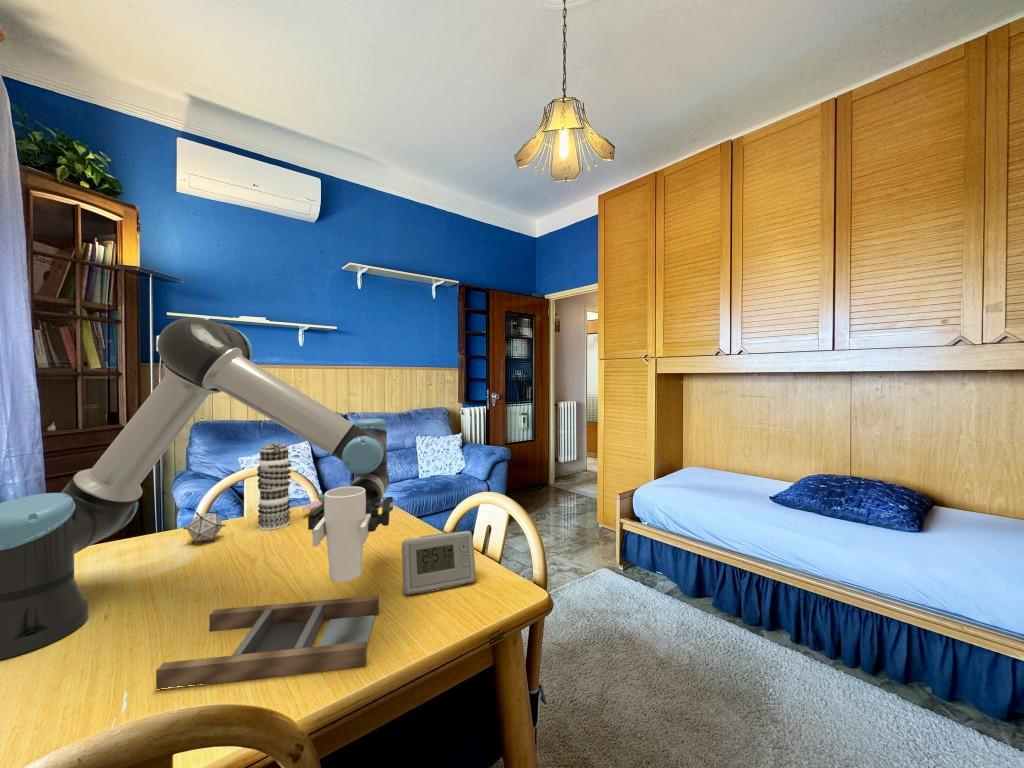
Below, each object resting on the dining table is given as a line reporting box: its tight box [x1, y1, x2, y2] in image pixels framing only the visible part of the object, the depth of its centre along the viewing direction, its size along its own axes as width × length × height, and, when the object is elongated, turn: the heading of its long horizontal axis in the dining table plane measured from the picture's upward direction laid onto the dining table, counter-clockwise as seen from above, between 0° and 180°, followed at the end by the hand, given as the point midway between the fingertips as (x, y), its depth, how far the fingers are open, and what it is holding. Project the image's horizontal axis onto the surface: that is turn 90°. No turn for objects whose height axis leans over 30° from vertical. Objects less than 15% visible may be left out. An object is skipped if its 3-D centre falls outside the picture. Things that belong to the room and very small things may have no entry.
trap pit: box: [231, 605, 324, 656], centre depth 69 cm, size 10×12×3 cm
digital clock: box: [401, 530, 477, 596], centre depth 90 cm, size 16×9×11 cm, turn 101°
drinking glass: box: [324, 485, 366, 584], centre depth 71 cm, size 7×7×15 cm
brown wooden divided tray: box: [155, 595, 380, 690], centre depth 69 cm, size 29×16×3 cm, turn 100°
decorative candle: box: [256, 442, 292, 531], centre depth 124 cm, size 9×9×25 cm
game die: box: [182, 510, 227, 545], centre depth 112 cm, size 9×8×10 cm
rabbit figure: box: [302, 493, 325, 513], centre depth 138 cm, size 6×6×15 cm
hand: (339, 536), depth 66 cm, fingers closed on drinking glass, 6 cm apart
